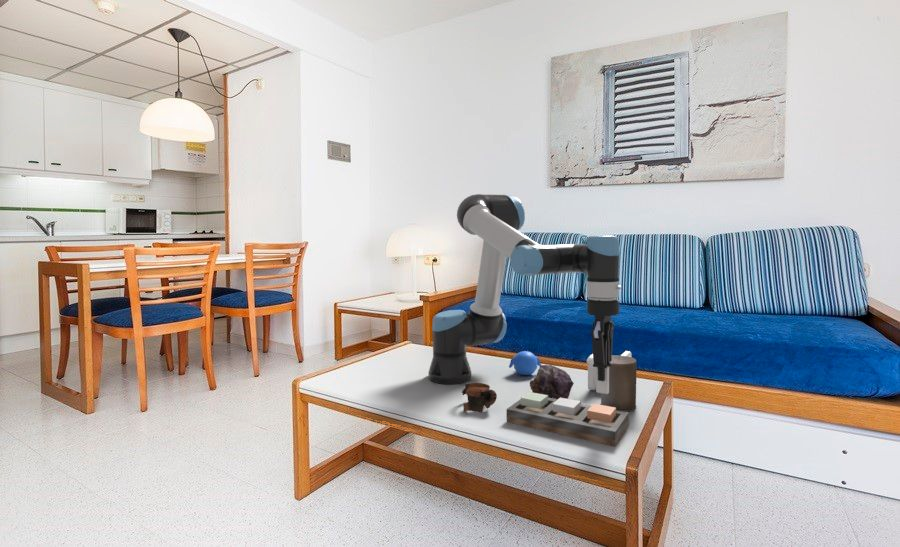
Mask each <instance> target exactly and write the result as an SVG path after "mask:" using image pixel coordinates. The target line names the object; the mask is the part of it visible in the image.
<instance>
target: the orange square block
mask: <svg viewBox="0 0 900 547" xmlns="http://www.w3.org/2000/svg"><path fill="white" fill-rule="evenodd" d="M615 416H616V408H615V407H610V406H604V405H602V404H598V403H593V404H592V405H591V407H590V408H589V409H588V410H587V418H588V419H593V420H598V421H603V422H608V423H611V421H612V420H613V419H614V417H615Z"/></svg>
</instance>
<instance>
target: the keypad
mask: <svg viewBox="0 0 900 547" xmlns="http://www.w3.org/2000/svg"><path fill="white" fill-rule="evenodd" d="M557 400H558V399H555V398H548V403H547V404H546V405H544V406H543V407H542V408H541V409H538V408H533V407H528V406H523V405H521V398H519V400H517V401H516V402H514V403H513V404H511V405H510V406H509V407H507V408H506V423H511V424H514V425H518V426H523V427H527V428H532V429H537V430H542V431H546V432H551V433H553V434H558V435H564V436H567V437H572V438H576V439H581V440H585V441H588V442H589V441H590V442H594V443H598V444H603V445H607V446H611V447H616V446H617V444H618V443H619V441H620V440H621V438H622V437H623V435H624V434H625V432H626V430H627V429H628V427H629V425H630V420H629V418H630V411H618V410H616V416H615V417H614V419H613V420H612V421H611V423H608V422H603V421H598V420H593V419H588V418H587V410H588V409H589V408H590V407H591V406H592V405H590V404H587V403H586V404H585V403H581V409H580V410H579V411H578V412H577V413H576V414H575V415H574V416H573V415H568V414H563V413H558V412H553V403H554V402H555V401H557Z"/></svg>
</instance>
